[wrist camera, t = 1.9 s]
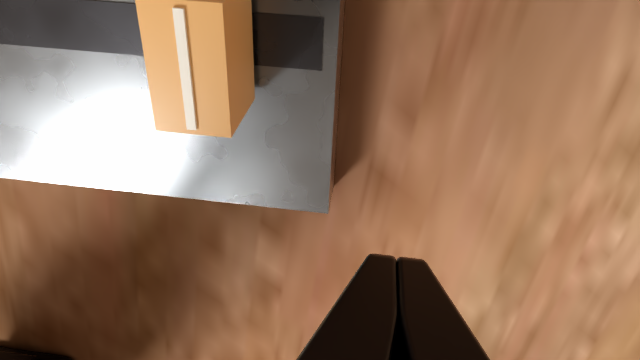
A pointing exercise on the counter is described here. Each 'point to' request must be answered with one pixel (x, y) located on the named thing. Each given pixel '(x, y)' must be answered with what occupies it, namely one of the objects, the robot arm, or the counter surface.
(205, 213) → the counter surface
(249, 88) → the fader tab
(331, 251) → the counter surface
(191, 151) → the console
